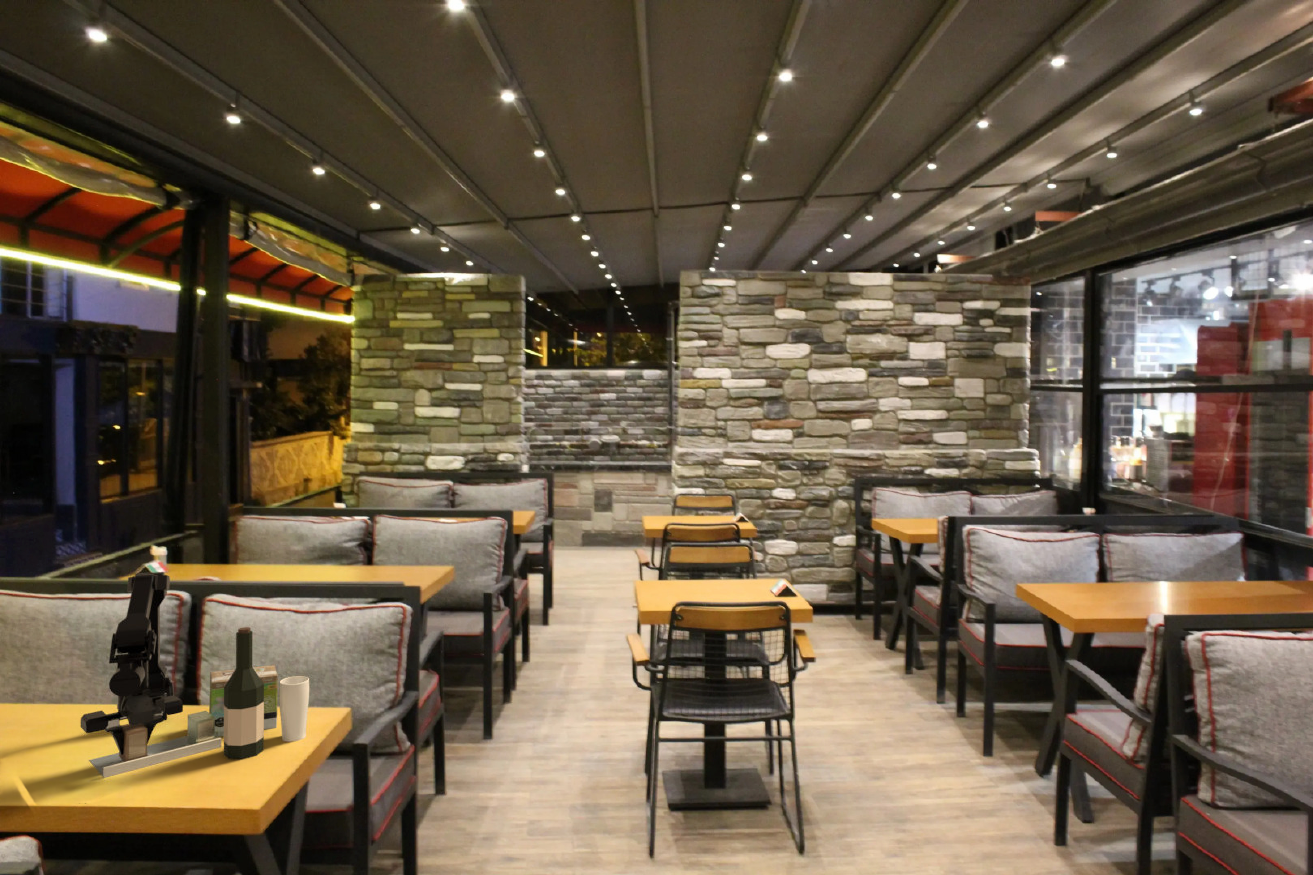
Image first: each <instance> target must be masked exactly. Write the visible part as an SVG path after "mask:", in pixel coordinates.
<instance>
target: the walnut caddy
mask: <svg viewBox="0 0 1313 875" xmlns="http://www.w3.org/2000/svg"><path fill="white" fill-rule="evenodd" d="M120 725H121V726H122V727H123V729H122V737H123V746H124V752H123V754H122V755H121V754H120V752H119V751H118V753H119V757H120V758H121V759H122V760H123V761H124V762H127V761H131V760H135V759H138V758H142V757H146V756H147V746H148V744H147V728H146V727H145V726H144V725H143V724H142V723H140V724H138V725H130V724H129V723H125V724H120Z"/></svg>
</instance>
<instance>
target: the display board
mask: <svg viewBox="0 0 1313 875" xmlns="http://www.w3.org/2000/svg"><path fill="white" fill-rule="evenodd" d="M187 740H188V735H185V736H181V737H177V738H176V737H175V738H173V739H168V740H164V741H161V742H157V743H153V744H147V756H146V757H142V758H138V759H135V760H131V761H127V762H124V761H123V760H122V759H121V758H120V757H119V752H116V753H112V754H109V755H105V756H100V757H96V758H91V759H89V760H88V761H89V762H90V763H91V764H92V766H93V767H94V768H95V769H96V771H98V773H99V774H100V775H101V776H102V778H104V779H106V778H109V777H114V776H117V775H121V774H124V773H128V772H133V771H136V770H140V769H143V768H149V767H151V766H154V765H156V766H157V765H159V764H162V763H167V762H170V761H175V760H178V759H182V758H185V757H190V756H193V755H197V754H200V753H205V752H208V751H213V750H215V749H216V750H217V749H220V748H222V738H221V737H216V738H215V739H213V740H209V741H205V742H201V743H197V744H193V745H190V744H189V743H188V744H187Z"/></svg>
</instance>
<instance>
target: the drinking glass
mask: <svg viewBox="0 0 1313 875" xmlns="http://www.w3.org/2000/svg"><path fill="white" fill-rule="evenodd" d="M278 684H279V685H278V686H279V687H278V702H279V712H280V714H279V715H280V725H281V740H282V741H283V742H286V743H287V742H296V741H297V742H298V741H301V740H304V739H305V738H306V737H307V724H308V723H307V722H308V713H309V712H308V711H309V702H310V678H309V677H307V676H304V675H303V676H301V675H300V676H299V675H297V676H296V675H295V676H289V677H285V678H283V679H281V680H280V681H278Z"/></svg>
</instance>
